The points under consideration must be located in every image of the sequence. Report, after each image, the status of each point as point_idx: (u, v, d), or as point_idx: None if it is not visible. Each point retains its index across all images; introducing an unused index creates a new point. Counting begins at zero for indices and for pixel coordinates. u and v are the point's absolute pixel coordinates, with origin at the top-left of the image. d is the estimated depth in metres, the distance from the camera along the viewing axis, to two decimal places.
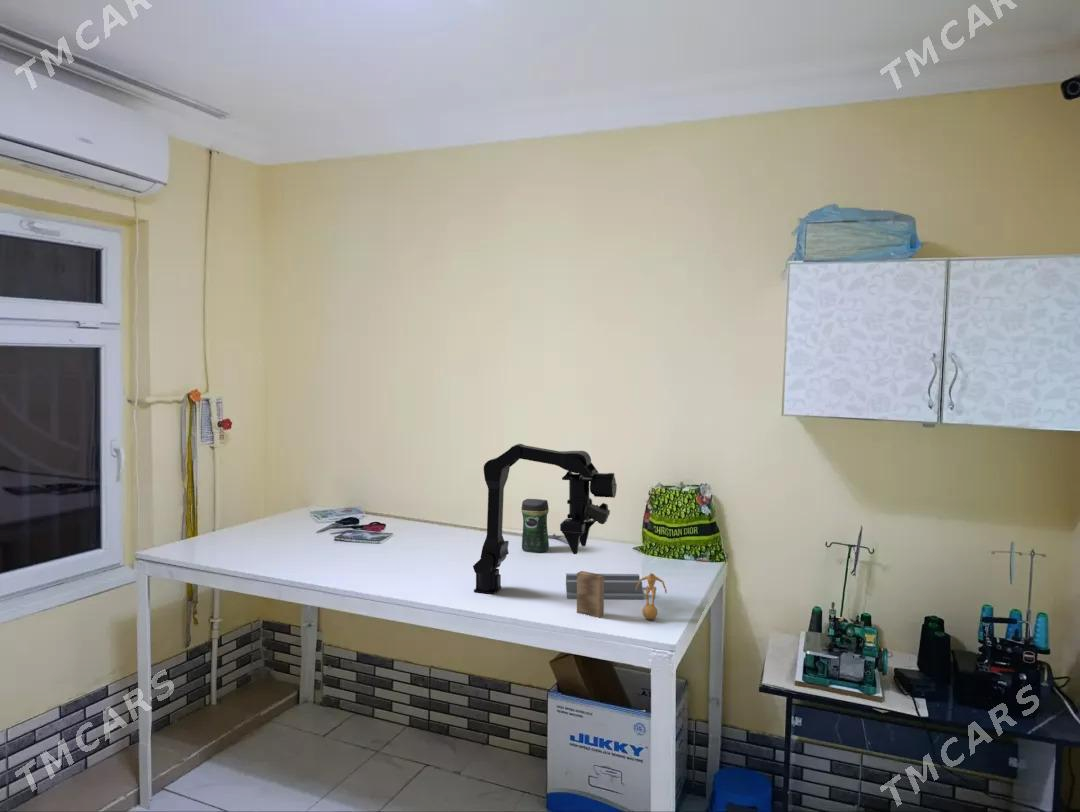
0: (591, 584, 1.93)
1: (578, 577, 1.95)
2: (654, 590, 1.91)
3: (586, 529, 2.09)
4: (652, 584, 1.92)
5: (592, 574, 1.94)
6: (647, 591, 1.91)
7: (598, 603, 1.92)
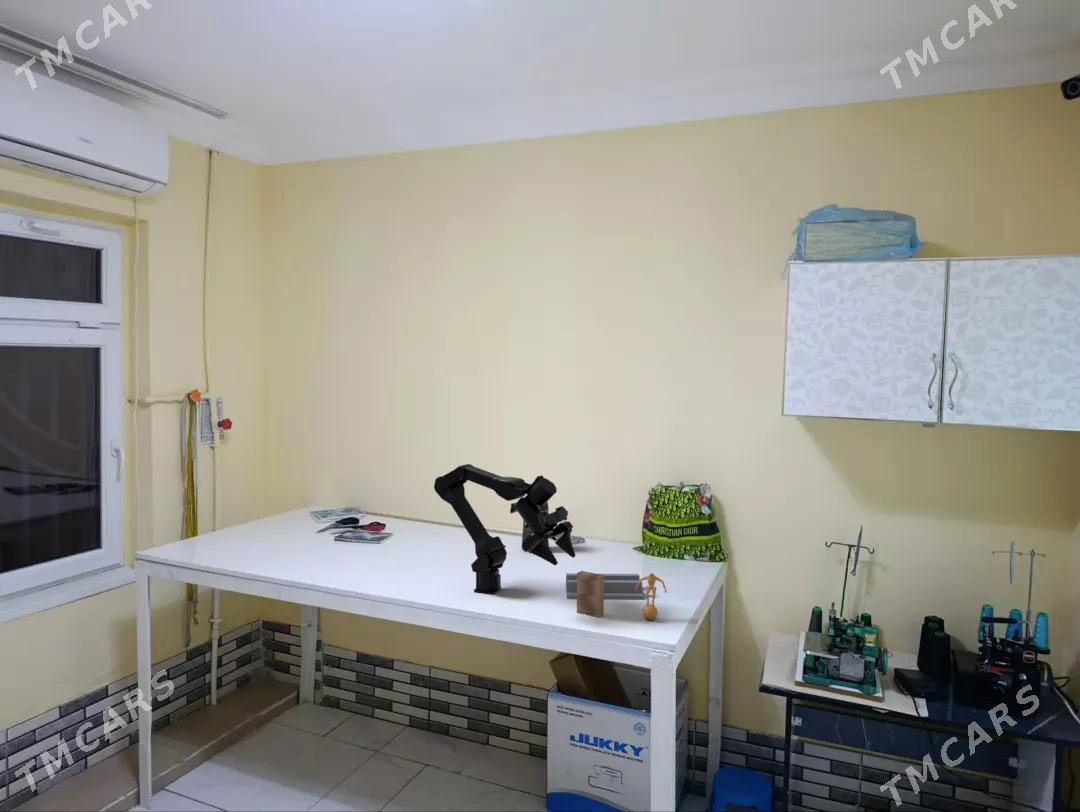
0: (591, 584, 1.93)
1: (578, 577, 1.95)
2: (654, 590, 1.91)
3: (566, 540, 2.04)
4: (652, 584, 1.92)
5: (592, 574, 1.94)
6: (647, 591, 1.91)
7: (598, 603, 1.92)
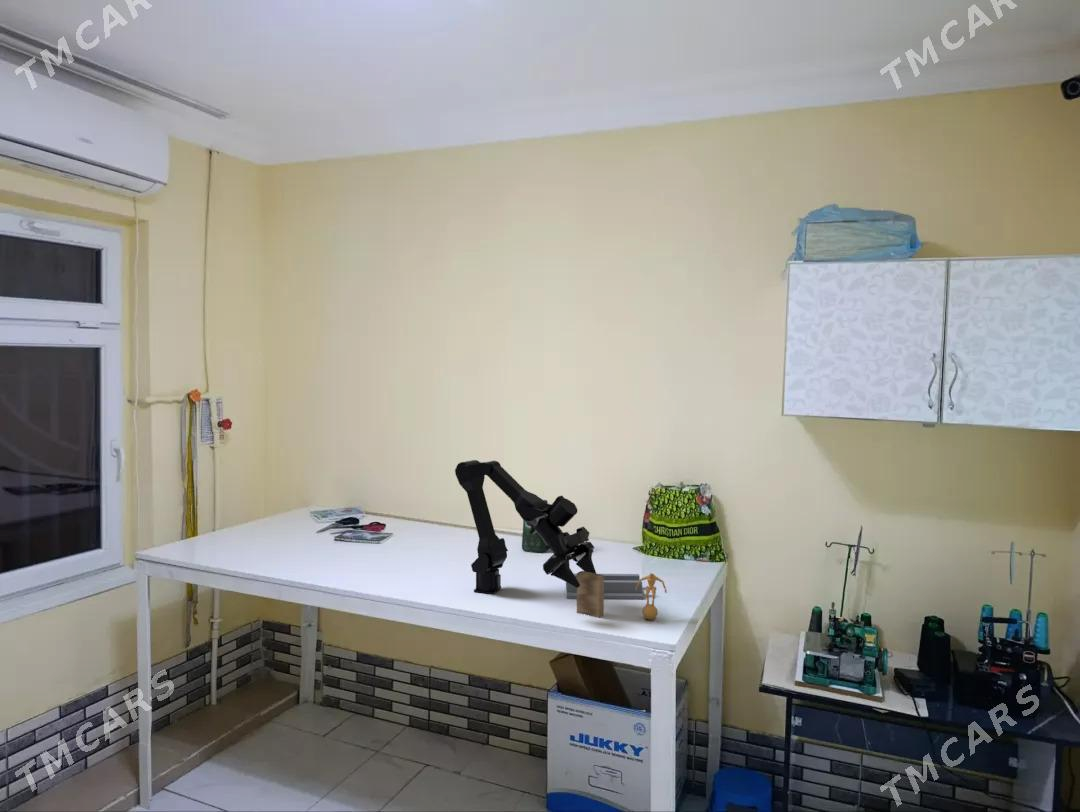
0: (591, 584, 1.93)
1: (578, 577, 1.95)
2: (654, 590, 1.91)
3: (587, 562, 2.00)
4: (652, 584, 1.92)
5: (592, 574, 1.94)
6: (647, 591, 1.91)
7: (598, 603, 1.92)
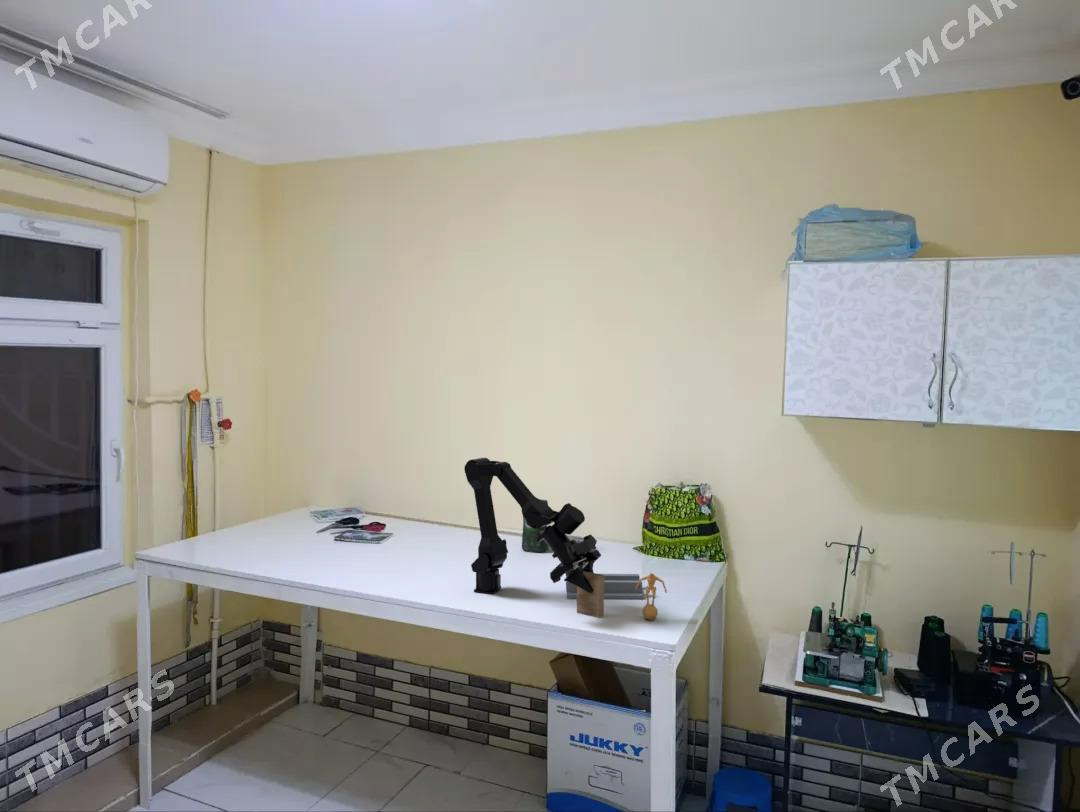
0: (591, 584, 1.93)
1: None
2: (654, 590, 1.91)
3: None
4: (652, 584, 1.92)
5: (592, 574, 1.94)
6: (647, 591, 1.91)
7: (598, 603, 1.92)
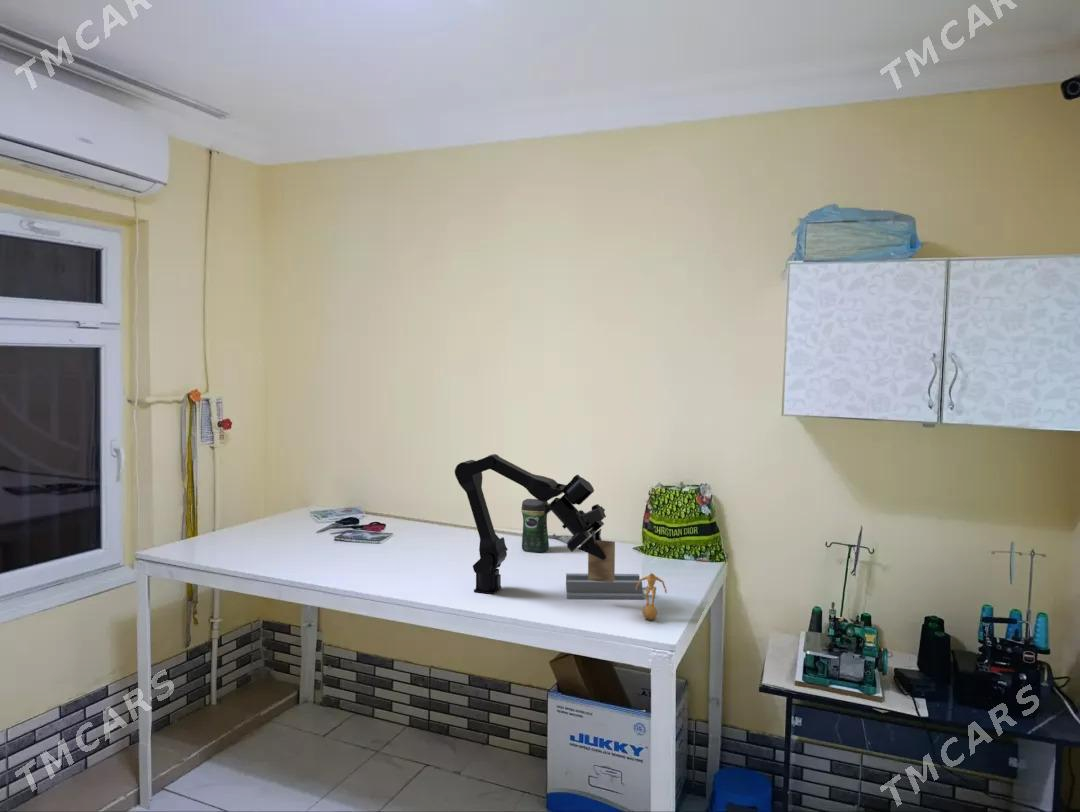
0: (604, 551, 2.00)
1: None
2: (654, 590, 1.91)
3: None
4: (652, 584, 1.92)
5: (603, 541, 2.01)
6: (647, 591, 1.91)
7: (611, 568, 2.00)
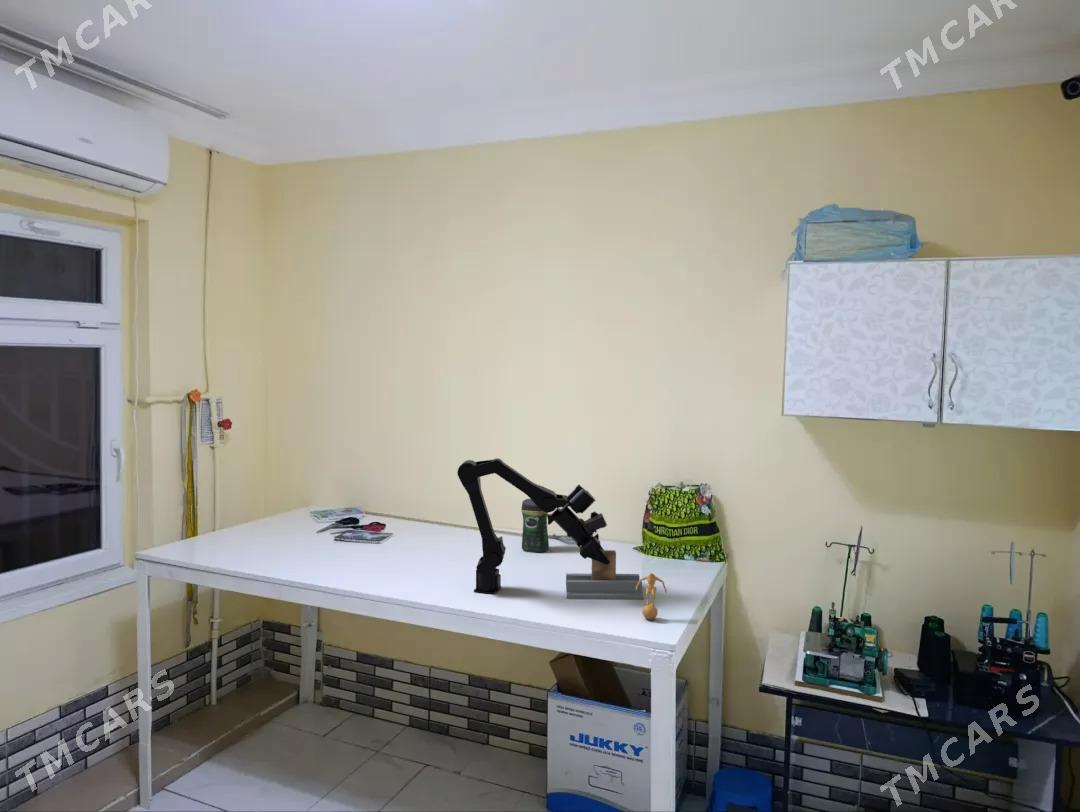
0: None
1: None
2: (654, 590, 1.91)
3: None
4: (652, 584, 1.92)
5: (605, 551, 2.13)
6: (647, 591, 1.91)
7: (614, 576, 2.13)
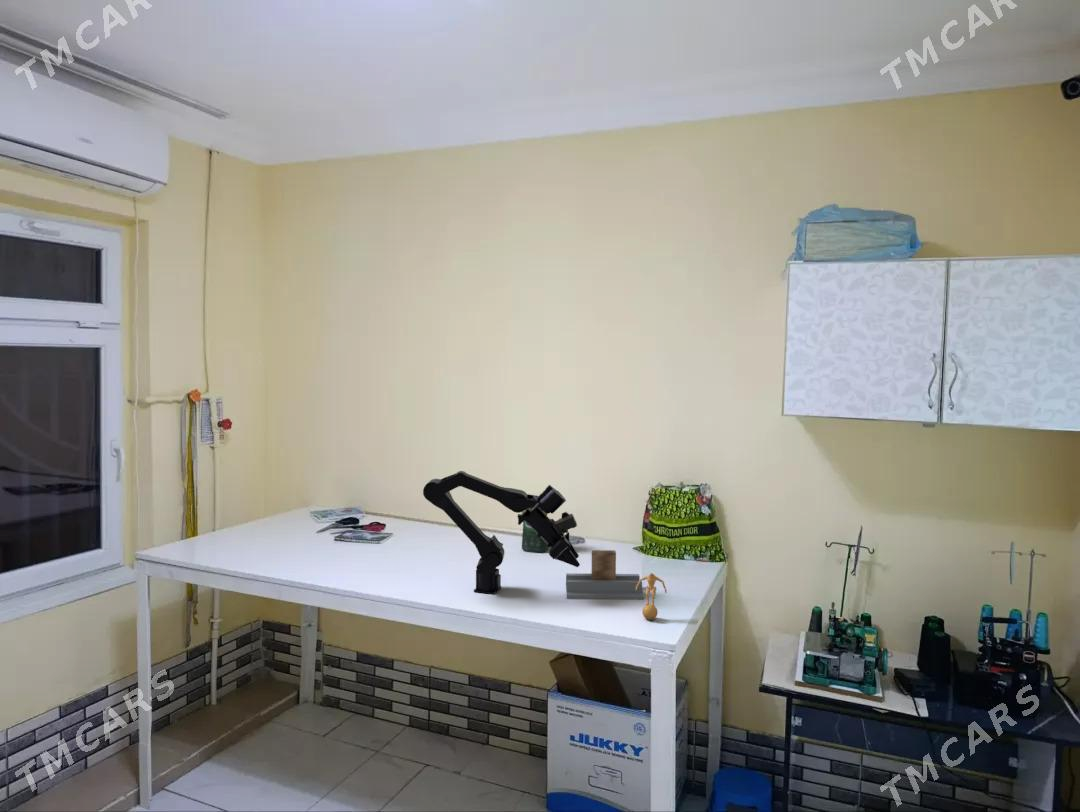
0: (607, 560, 2.12)
1: (593, 556, 2.12)
2: (654, 590, 1.91)
3: (568, 543, 2.18)
4: (652, 584, 1.92)
5: (605, 551, 2.13)
6: (647, 591, 1.91)
7: (614, 576, 2.13)
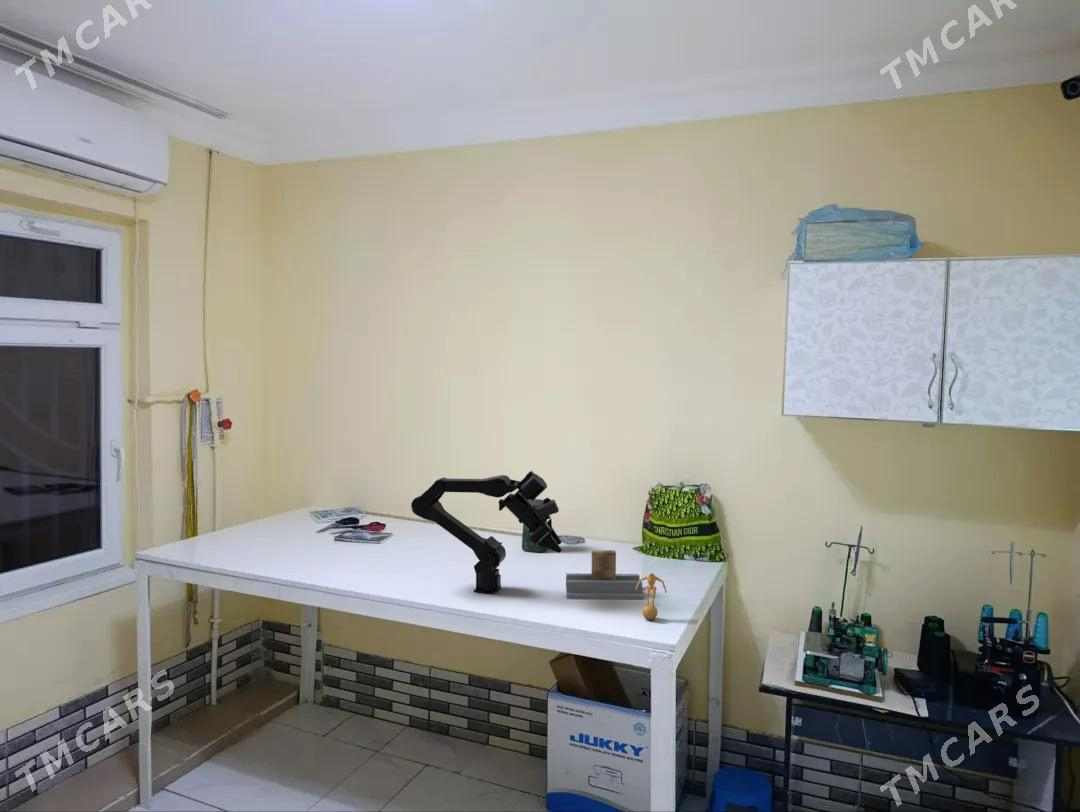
0: (607, 560, 2.12)
1: (593, 556, 2.12)
2: (654, 590, 1.91)
3: (550, 530, 2.16)
4: (652, 584, 1.92)
5: (605, 551, 2.13)
6: (647, 591, 1.91)
7: (614, 576, 2.13)
